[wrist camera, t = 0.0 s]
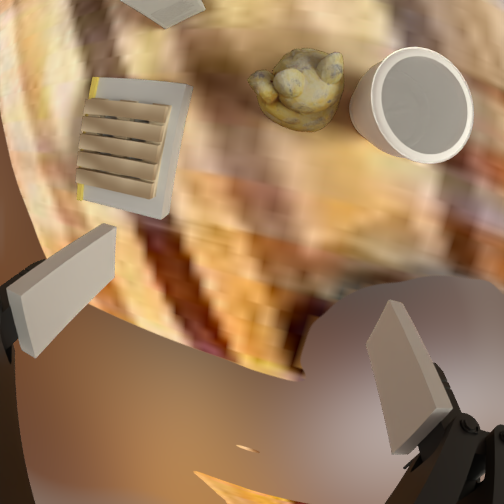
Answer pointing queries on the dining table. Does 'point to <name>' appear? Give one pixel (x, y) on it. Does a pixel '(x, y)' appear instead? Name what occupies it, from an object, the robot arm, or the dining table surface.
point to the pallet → (122, 146)
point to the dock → (145, 94)
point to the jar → (414, 106)
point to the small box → (166, 10)
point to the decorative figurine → (301, 89)
